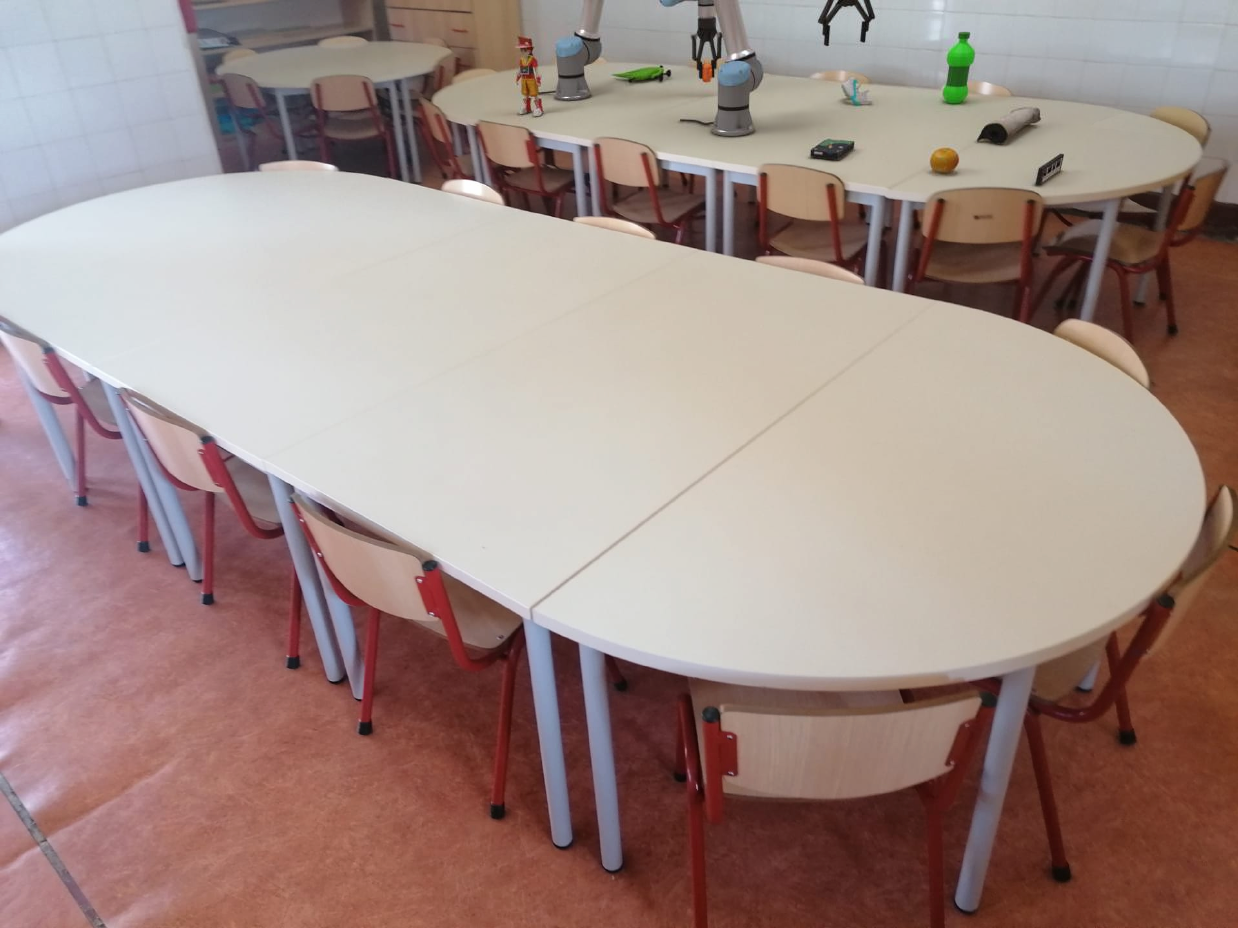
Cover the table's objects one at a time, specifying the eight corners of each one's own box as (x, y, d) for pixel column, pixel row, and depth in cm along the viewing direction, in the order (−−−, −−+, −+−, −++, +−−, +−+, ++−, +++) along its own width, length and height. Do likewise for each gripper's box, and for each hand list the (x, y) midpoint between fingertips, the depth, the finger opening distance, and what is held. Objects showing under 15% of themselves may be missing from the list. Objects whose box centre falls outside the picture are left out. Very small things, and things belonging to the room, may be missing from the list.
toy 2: (680, 71, 422) (628, 71, 438) (679, 59, 419) (627, 60, 435) (647, 89, 405) (595, 88, 421) (646, 77, 402) (593, 76, 418)
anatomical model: (836, 76, 365) (861, 69, 364) (839, 102, 371) (863, 95, 370) (847, 84, 352) (872, 77, 352) (849, 111, 358) (874, 104, 358)
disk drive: (838, 161, 299) (854, 149, 309) (839, 153, 298) (855, 140, 308) (809, 158, 304) (825, 146, 314) (810, 149, 302) (826, 137, 313)
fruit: (924, 163, 281) (941, 140, 278) (925, 165, 289) (941, 143, 286) (946, 178, 280) (963, 155, 277) (947, 180, 288) (963, 158, 285)
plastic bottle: (973, 101, 354) (984, 32, 339) (955, 106, 349) (966, 36, 335) (952, 97, 361) (962, 29, 346) (934, 102, 356) (944, 33, 342)
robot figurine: (713, 83, 379) (714, 62, 374) (703, 84, 378) (703, 63, 373) (709, 80, 384) (709, 59, 379) (699, 81, 383) (699, 60, 379)
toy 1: (513, 115, 373) (504, 37, 356) (523, 110, 380) (514, 33, 363) (539, 117, 369) (531, 37, 352) (548, 111, 376) (541, 33, 359)
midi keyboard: (1039, 185, 269) (1043, 168, 266) (1035, 184, 270) (1038, 168, 267) (1060, 170, 279) (1064, 154, 277) (1056, 169, 280) (1060, 153, 277)
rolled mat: (1008, 112, 326) (1032, 94, 318) (1022, 133, 327) (1046, 116, 319) (972, 135, 309) (997, 117, 301) (987, 157, 310) (1012, 140, 301)
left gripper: (725, 14, 371) (724, 74, 384) (683, 17, 369) (684, 78, 382) (730, 16, 365) (729, 77, 378) (688, 20, 362) (688, 81, 376)
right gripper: (879, -28, 310) (873, 39, 322) (811, -22, 307) (807, 45, 319) (889, -26, 304) (882, 42, 316) (819, -20, 301) (814, 49, 313)
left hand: (706, 77), depth 380 cm, fingers closed on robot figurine, 5 cm apart
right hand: (844, 44), depth 317 cm, fingers open, 13 cm apart
